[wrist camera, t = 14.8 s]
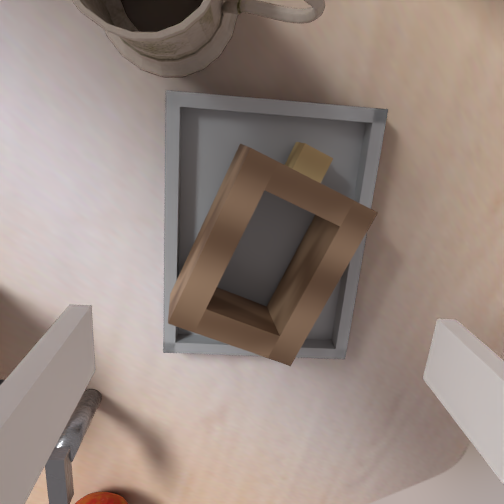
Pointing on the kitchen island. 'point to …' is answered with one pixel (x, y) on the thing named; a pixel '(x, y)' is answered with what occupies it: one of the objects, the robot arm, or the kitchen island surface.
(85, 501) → the fruit
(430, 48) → the kitchen island surface
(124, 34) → the mug
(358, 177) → the tray
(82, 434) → the grey metal l-shaped piece
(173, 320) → the brown wooden frame
